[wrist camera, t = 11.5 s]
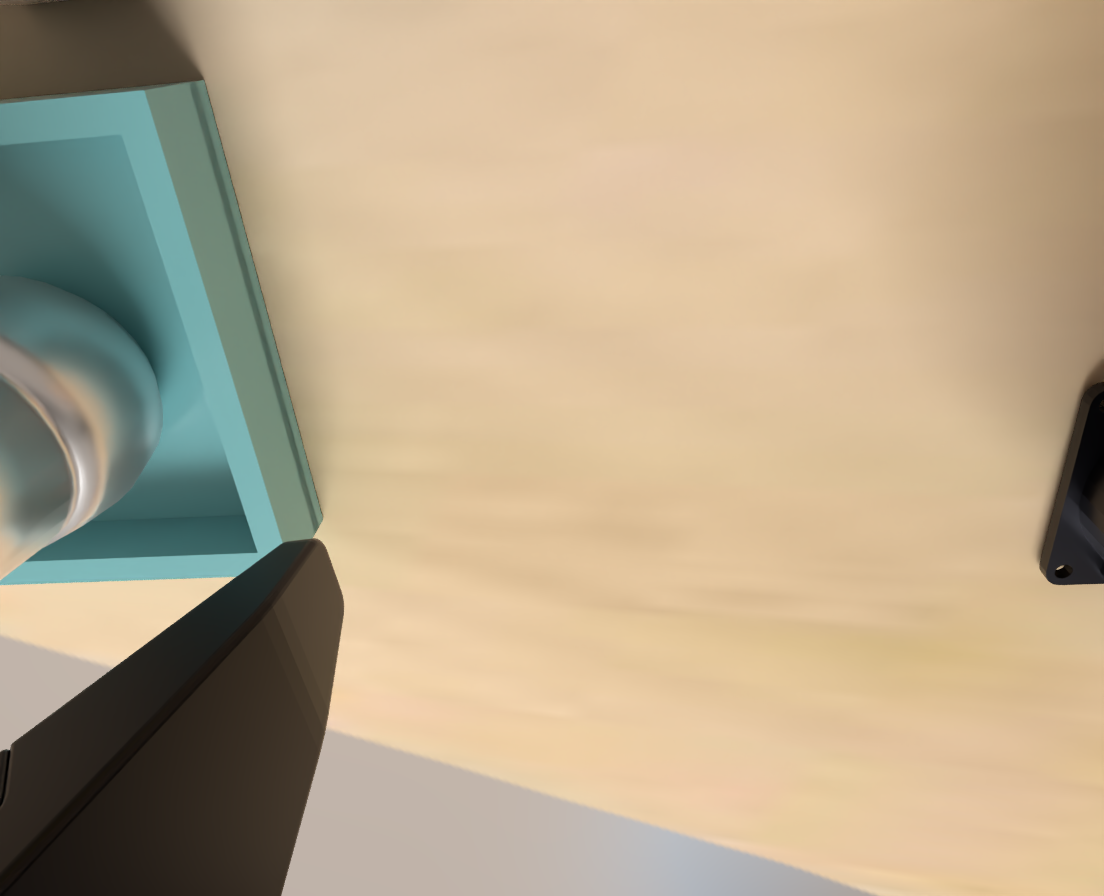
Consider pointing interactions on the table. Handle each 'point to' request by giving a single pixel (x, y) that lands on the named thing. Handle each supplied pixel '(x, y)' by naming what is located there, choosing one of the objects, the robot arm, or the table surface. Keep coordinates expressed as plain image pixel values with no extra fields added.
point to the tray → (160, 326)
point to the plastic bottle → (66, 415)
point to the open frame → (25, 2)
